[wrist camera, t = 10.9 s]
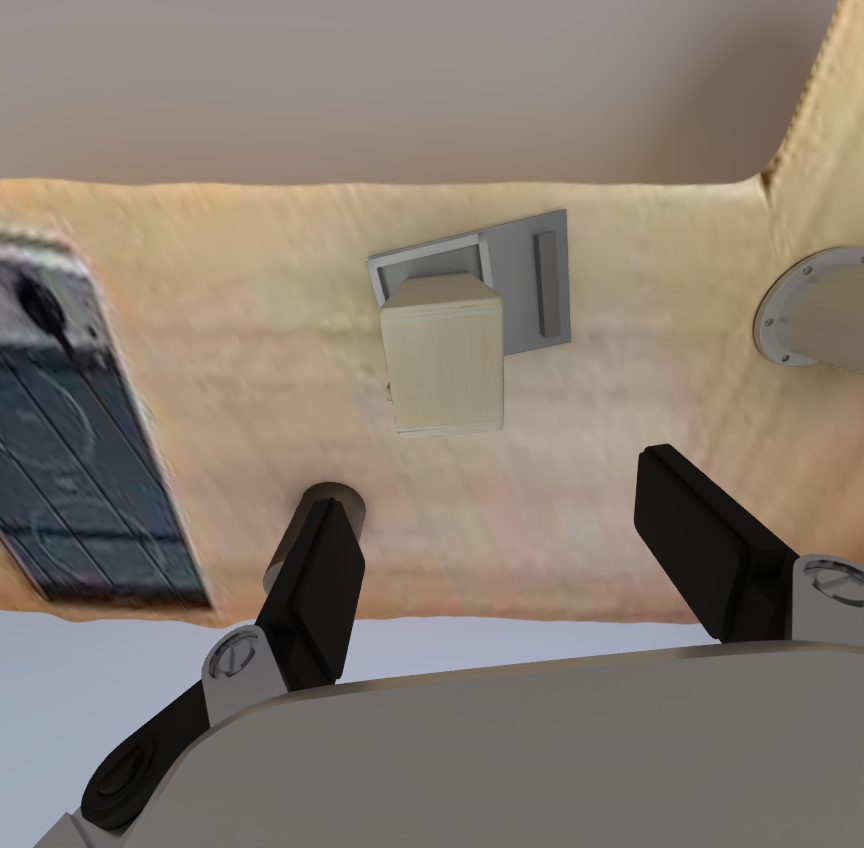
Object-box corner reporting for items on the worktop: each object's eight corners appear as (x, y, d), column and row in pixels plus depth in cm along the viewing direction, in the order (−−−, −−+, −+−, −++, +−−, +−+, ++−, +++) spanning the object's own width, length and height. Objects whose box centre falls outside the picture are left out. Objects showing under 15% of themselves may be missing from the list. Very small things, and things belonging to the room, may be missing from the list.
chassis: (562, 209, 35) (575, 206, 32) (567, 339, 41) (578, 347, 38) (369, 256, 37) (363, 258, 34) (400, 373, 43) (398, 384, 40)
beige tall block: (398, 275, 37) (364, 309, 18) (469, 268, 36) (507, 296, 18) (408, 350, 40) (387, 443, 22) (472, 344, 40) (506, 433, 21)
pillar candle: (292, 485, 51) (243, 573, 37) (359, 478, 50) (332, 565, 37) (311, 534, 55) (273, 628, 42) (372, 529, 55) (353, 622, 41)
